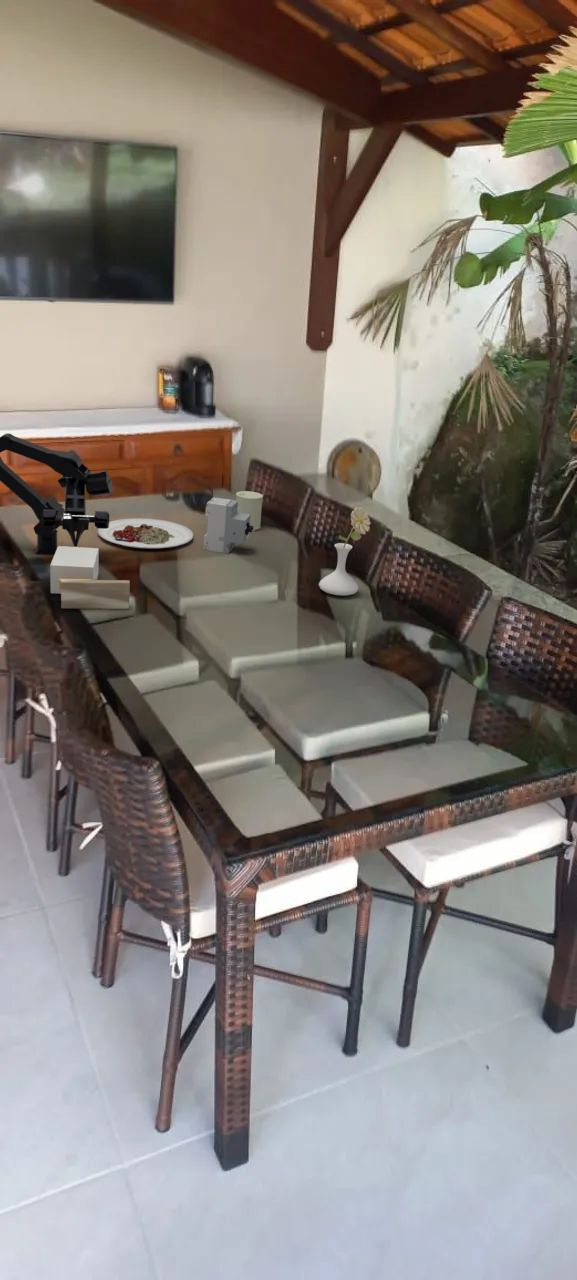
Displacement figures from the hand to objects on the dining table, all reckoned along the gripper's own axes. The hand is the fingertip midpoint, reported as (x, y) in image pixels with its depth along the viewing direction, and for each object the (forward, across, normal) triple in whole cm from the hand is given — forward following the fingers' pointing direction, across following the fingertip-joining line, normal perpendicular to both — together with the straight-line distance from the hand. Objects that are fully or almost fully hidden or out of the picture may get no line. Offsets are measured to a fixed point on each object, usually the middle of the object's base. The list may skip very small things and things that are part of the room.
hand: (75, 546), depth 259 cm
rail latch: (+20, 0, +15) cm, 25 cm away
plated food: (-17, -22, -27) cm, 38 cm away
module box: (+14, 0, +4) cm, 14 cm away
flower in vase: (+16, -74, +8) cm, 76 cm away
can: (-26, -58, -35) cm, 72 cm away
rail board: (+25, -5, +16) cm, 30 cm away
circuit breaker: (-9, -47, -18) cm, 51 cm away
